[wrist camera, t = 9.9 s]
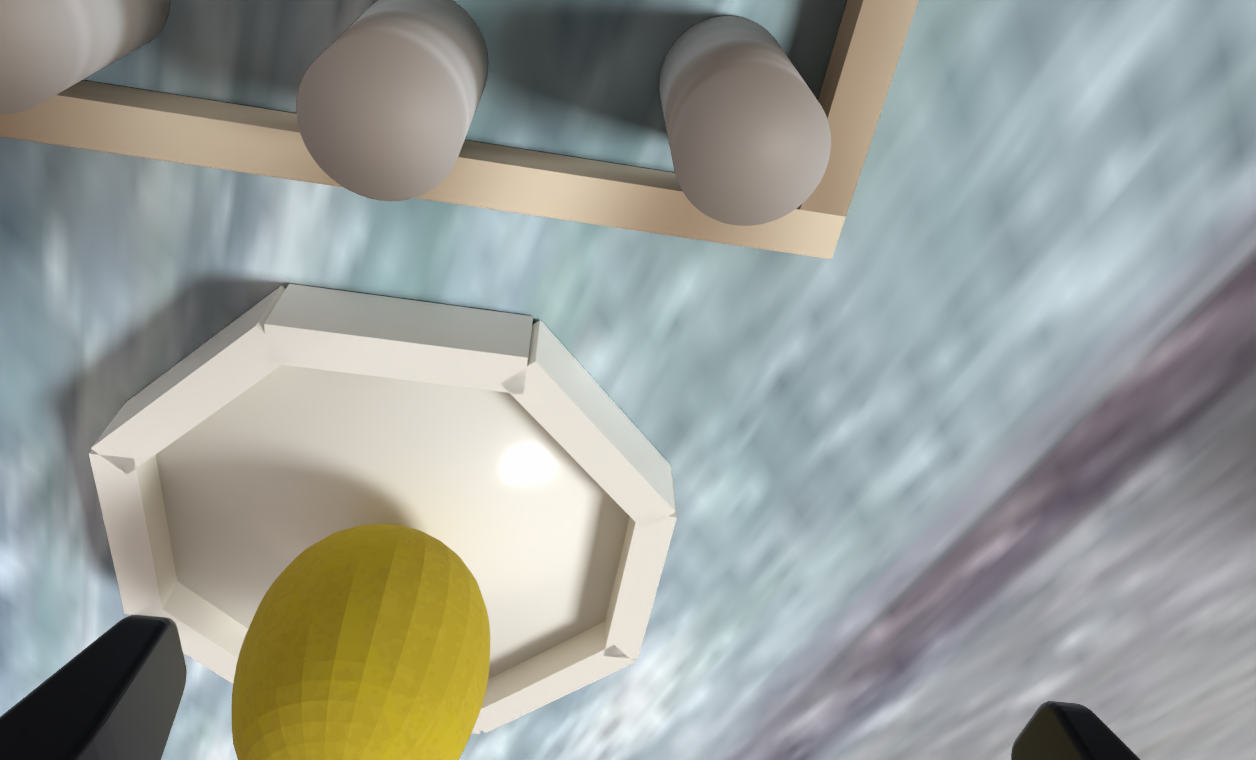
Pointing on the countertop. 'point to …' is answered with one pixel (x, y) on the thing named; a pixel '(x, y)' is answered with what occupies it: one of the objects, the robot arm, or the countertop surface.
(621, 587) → the dish
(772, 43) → the spacer field
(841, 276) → the countertop surface
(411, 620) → the lemon
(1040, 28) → the countertop surface
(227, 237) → the countertop surface
